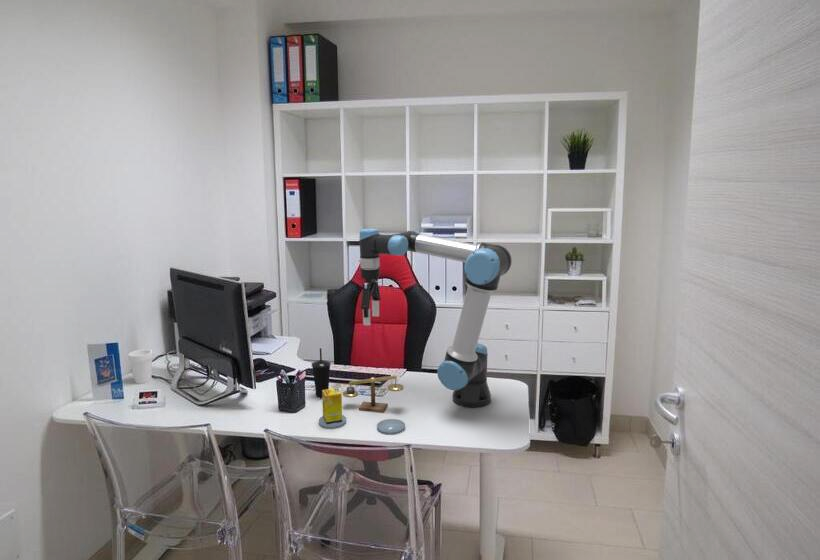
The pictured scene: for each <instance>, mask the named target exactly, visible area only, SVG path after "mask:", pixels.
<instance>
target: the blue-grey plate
mask: <svg viewBox="0 0 820 560" xmlns="http://www.w3.org/2000/svg"><path fill="white" fill-rule="evenodd" d="M376 430H377V432H378V433H380V432H381V433H380V434H383V433H385V434H384V435H388V434H393V435H398V434H397V433H399V434H401V433H403V432H404V431H405V430H406V423H405V422H404V421H403V420H400V419H396V418H388V419H383V420H380V421H379V422H377V423H376ZM402 431H403V432H402ZM400 432H401V433H400Z"/></svg>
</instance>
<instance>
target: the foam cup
mask: <svg viewBox="0 0 820 560" xmlns="http://www.w3.org/2000/svg"><path fill="white" fill-rule="evenodd" d="M153 355H154V354H153V350H152V349H137V350H133V351H131V352H129V353H128V360H129V363H130V367H131V370H132V374H133V378H134V381H135V384H137V385H143V384H144V385H145V384H148V383H150V382H152V376H153V375H152V374H153V373H152V371H153V357H154V356H153Z"/></svg>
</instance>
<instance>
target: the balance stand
mask: <svg viewBox="0 0 820 560" xmlns="http://www.w3.org/2000/svg"><path fill="white" fill-rule="evenodd" d="M388 407H389V403H387V402H376V382H375V383H371V382H370V401H362V402H361V404H360V405H359V406H358V408H357V409H358V411H362V412H372V413H383V414H384V413H385V411H386V410H387V408H388Z"/></svg>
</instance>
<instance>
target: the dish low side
mask: <svg viewBox="0 0 820 560" xmlns="http://www.w3.org/2000/svg"><path fill="white" fill-rule="evenodd" d="M346 424H347V417H346V416H345V415H343V414H342V422H338V423H332V424H326V422H325V420H324V418H323V415H322V416H320V417H319V419H318V425H319V426H320V427H321V428H323V429H326V430H327V429H330V430H331V429H338V428H339V429H340V428H341V427H344V426H345V425H346Z"/></svg>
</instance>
